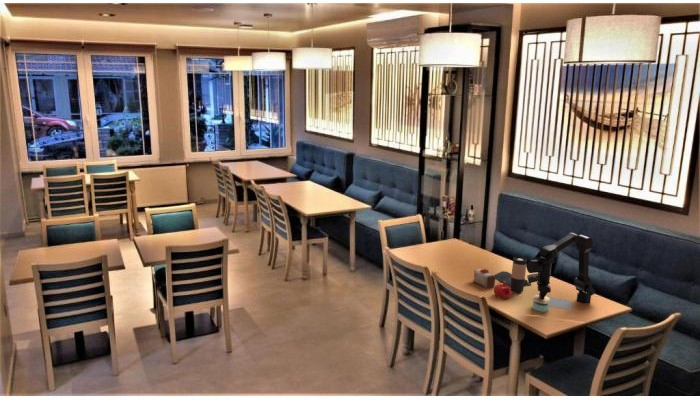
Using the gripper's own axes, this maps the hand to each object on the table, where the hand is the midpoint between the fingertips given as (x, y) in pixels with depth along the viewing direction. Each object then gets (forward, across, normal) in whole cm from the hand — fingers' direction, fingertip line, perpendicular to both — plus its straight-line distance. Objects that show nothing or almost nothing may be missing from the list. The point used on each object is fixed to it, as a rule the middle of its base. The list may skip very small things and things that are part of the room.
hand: (541, 298), depth 277 cm
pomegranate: (+7, -11, -20) cm, 24 cm away
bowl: (+7, 0, 0) cm, 7 cm away
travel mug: (+7, -23, -12) cm, 27 cm away
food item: (+7, -26, -31) cm, 41 cm away
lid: (+1, 0, 0) cm, 1 cm away
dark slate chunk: (+8, -38, -15) cm, 41 cm away
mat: (+7, -11, +10) cm, 17 cm away
